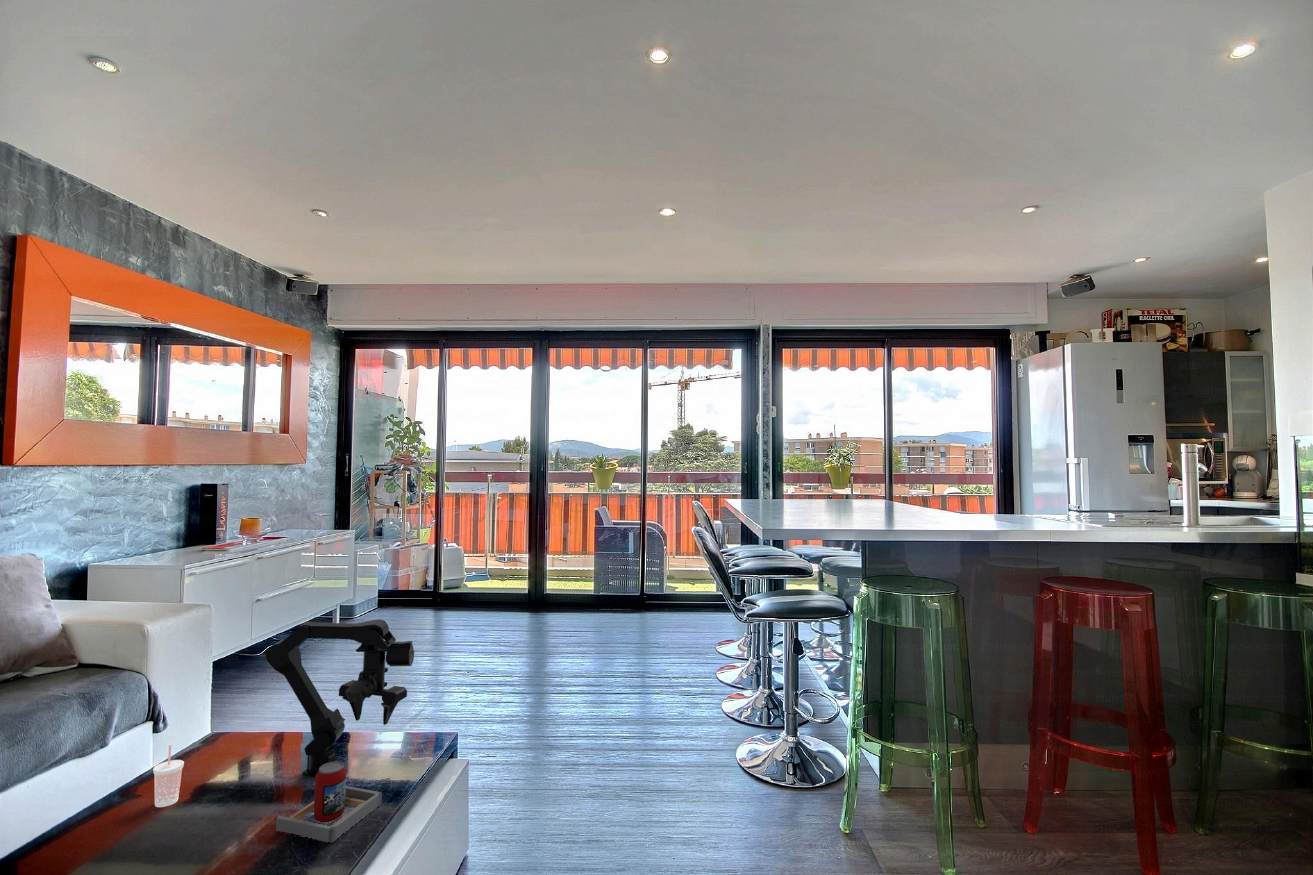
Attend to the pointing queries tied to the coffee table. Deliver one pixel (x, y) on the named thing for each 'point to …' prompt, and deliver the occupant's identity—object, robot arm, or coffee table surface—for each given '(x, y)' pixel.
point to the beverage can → (330, 791)
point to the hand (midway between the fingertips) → (371, 722)
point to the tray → (311, 807)
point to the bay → (340, 827)
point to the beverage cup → (167, 781)
